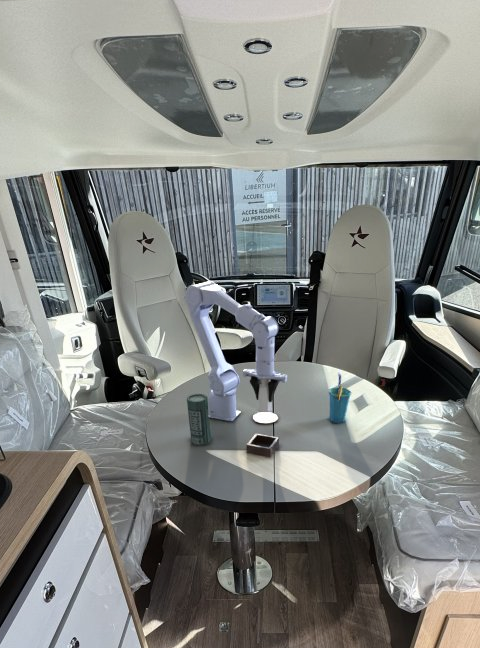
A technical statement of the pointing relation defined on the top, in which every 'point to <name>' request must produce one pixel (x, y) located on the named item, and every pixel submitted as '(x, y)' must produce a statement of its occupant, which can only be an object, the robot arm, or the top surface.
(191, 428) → the can
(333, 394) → the cup
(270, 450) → the box
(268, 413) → the coaster
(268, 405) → the salt shaker
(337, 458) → the top surface
